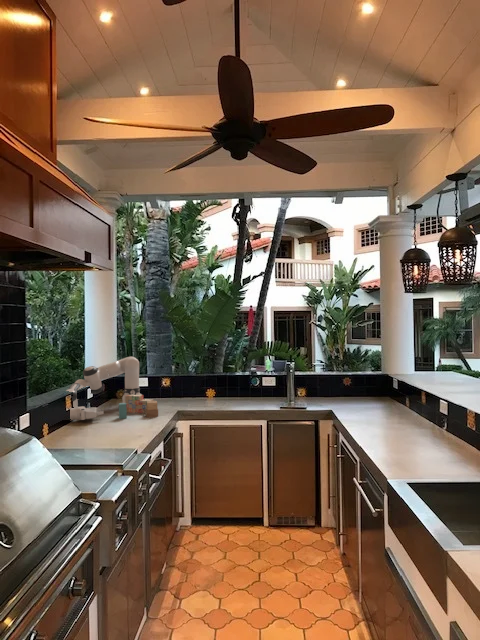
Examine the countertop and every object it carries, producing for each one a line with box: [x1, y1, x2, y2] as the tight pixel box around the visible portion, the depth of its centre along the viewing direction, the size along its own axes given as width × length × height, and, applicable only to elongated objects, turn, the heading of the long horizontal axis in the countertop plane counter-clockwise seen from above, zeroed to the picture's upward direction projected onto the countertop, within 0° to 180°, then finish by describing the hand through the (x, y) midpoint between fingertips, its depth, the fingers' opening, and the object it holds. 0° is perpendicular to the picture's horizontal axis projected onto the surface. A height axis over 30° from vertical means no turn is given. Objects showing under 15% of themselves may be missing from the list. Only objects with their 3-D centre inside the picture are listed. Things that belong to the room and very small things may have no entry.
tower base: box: [145, 408, 159, 418], centre depth 342 cm, size 8×8×5 cm
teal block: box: [118, 402, 128, 420], centre depth 336 cm, size 5×5×10 cm
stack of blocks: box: [125, 394, 155, 414], centre depth 358 cm, size 21×6×12 cm, turn 67°
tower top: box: [147, 400, 159, 411], centre depth 342 cm, size 7×7×5 cm
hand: (103, 411), depth 332 cm, fingers open, 8 cm apart
